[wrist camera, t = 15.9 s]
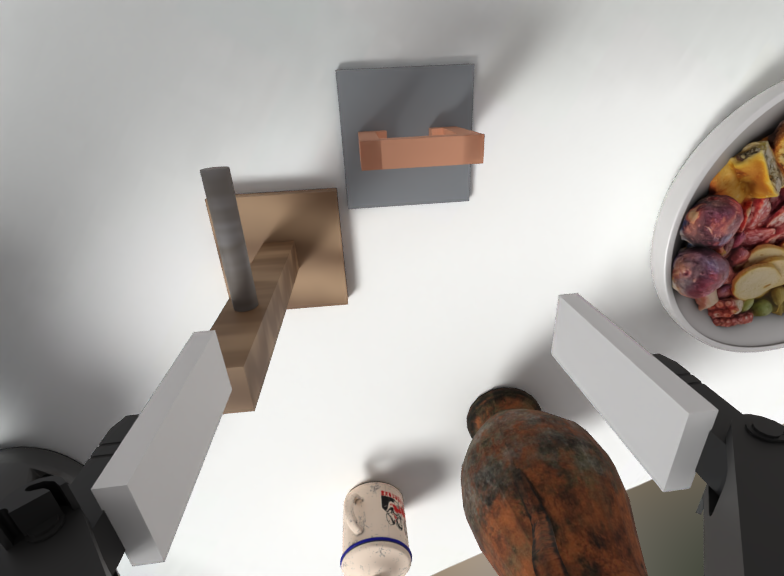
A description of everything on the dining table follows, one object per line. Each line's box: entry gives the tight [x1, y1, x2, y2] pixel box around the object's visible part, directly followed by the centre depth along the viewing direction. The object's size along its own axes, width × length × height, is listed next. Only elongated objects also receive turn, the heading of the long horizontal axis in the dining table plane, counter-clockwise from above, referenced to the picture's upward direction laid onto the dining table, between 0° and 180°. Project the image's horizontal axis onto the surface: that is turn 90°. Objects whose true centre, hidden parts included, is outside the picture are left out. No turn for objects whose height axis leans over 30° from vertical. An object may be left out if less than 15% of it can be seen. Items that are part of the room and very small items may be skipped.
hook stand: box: [200, 167, 348, 414], centre depth 31 cm, size 16×12×22 cm
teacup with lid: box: [340, 482, 412, 576], centre depth 53 cm, size 12×9×12 cm
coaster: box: [336, 64, 474, 209], centre depth 38 cm, size 12×12×1 cm
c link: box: [358, 126, 485, 171], centre depth 33 cm, size 9×2×9 cm, turn 93°
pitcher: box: [461, 388, 648, 576], centre depth 40 cm, size 17×21×30 cm
